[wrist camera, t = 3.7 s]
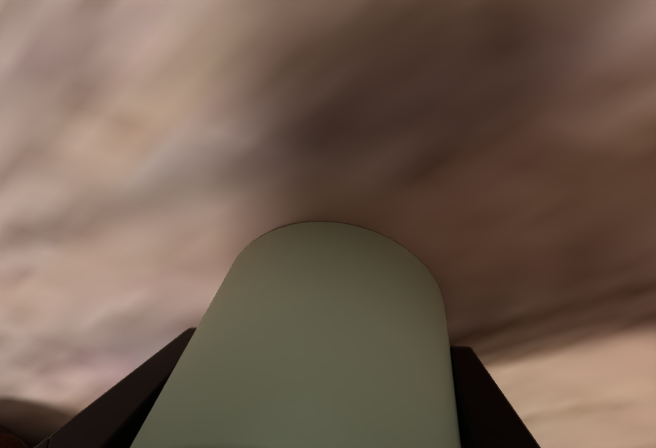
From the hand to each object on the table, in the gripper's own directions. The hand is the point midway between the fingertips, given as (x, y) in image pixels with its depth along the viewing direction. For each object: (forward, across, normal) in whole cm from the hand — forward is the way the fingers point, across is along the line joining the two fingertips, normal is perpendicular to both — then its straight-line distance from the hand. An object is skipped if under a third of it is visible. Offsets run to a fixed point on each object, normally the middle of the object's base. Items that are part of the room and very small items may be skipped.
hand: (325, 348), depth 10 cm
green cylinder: (+1, 0, 0) cm, 1 cm away
